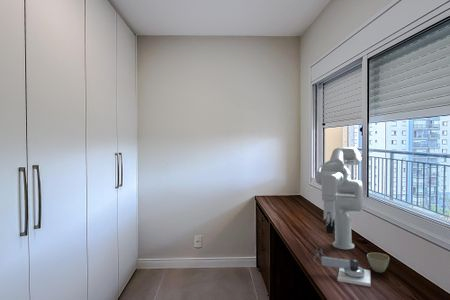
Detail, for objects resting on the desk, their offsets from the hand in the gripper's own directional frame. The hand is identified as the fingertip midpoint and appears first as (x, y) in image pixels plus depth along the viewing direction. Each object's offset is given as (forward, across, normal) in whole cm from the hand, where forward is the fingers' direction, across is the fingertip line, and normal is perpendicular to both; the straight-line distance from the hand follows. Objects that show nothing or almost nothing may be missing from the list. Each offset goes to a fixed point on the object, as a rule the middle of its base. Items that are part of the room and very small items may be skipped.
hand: (330, 230), depth 149 cm
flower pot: (+20, -5, +22) cm, 30 cm away
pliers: (+20, -13, -9) cm, 26 cm away
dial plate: (+20, +7, +11) cm, 24 cm away
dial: (+18, +7, +6) cm, 20 cm away
